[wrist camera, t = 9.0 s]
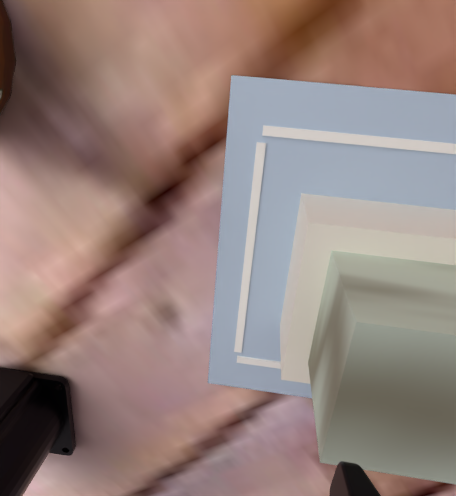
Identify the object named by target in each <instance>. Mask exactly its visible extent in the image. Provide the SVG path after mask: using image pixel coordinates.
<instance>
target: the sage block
mask: <svg viewBox="0 0 456 496" xmlns="http://www.w3.org/2000/svg"><path fill="white" fill-rule="evenodd" d="M308 367H309V375H310V384H311V392H312V400H313V409H314V417H315V425H316V434H317V442H318V450H319V459H320V463H326V464H332V465H338V463H339V462H340V461H345V462H350V463H356V464H358V465H359V466H360V467H361V468H362V469H363V470H369V471H376V472H382V473H388V474H394V475H400V476H407V477H413V478H419V479H425V480H432V481H438V482H444V483H450V484H456V265H449V264H441V263H432V262H424V261H416V260H407V259H399V258H391V257H382V256H374V255H366V254H358V253H349V252H341V251H333V250H331V255H330V260H329V265H328V269H327V274H326V279H325V284H324V288H323V293H322V298H321V303H320V308H319V312H318V317H317V322H316V327H315V331H314V336H313V341H312V346H311V351H310V355H309V360H308Z"/></svg>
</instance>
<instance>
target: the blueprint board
mask: <svg viewBox="0 0 456 496" xmlns="http://www.w3.org/2000/svg"><path fill="white" fill-rule="evenodd" d="M331 250H333V251H341V252H349V253H358V254H366V255H374V256H382V257H391V258H399V259H407V260H416V261H424V262H432V263H441V264H449V265H456V95H454V94H443V93H431V92H420V91H408V90H397V89H385V88H373V87H362V86H350V85H339V84H327V83H316V82H304V81H293V80H281V79H269V78H258V77H246V76H235V75H231V88H230V101H229V114H228V127H227V140H226V153H225V166H224V179H223V192H222V205H221V218H220V231H219V244H218V257H217V270H216V283H215V296H214V308H213V321H212V334H211V347H210V360H209V373H208V383H211V384H218V385H225V386H232V387H239V388H246V389H252V390H259V391H266V392H273V393H280V394H286V395H293V396H300V397H307V398H312V392H311V384H310V375H309V367H308V360H309V355H310V351H311V346H312V341H313V336H314V331H315V327H316V322H317V317H318V312H319V308H320V303H321V298H322V293H323V288H324V284H325V279H326V274H327V269H328V265H329V260H330V255H331Z"/></svg>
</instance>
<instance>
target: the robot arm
mask: <svg viewBox="0 0 456 496" xmlns="http://www.w3.org/2000/svg"><path fill="white" fill-rule="evenodd" d="M75 447H76V445H75V436H74V426H73V417H72V408H71V399H70V390H69V383H68V381H67V380H66V379H65V378H64V377H61V376H55V375H48V374H41V373H35V372H28V371H21V370H15V369H8V368H1V367H0V496H22V495H23V494H24V492H25V491H26V489H27V487H28V486H29V484H30V483H31V481H32V479H33V478H34V476H35V474H36V473H37V471H38V470H39V468H40V466H41V465H42V463H43V462H44V460H45V458H46V457H47V455H48V454H49V453H55V454H61V455H71V454H72V453H73V451H74V450H75ZM330 496H381V495H380V494H379V493H378V491H377V490H376V488H375V487H374V485H373V484H372V482H371V481H370V479H369V478H368V476H367V475H366V473H365V472H364V471H363V469H362V468H361V467H360V466H359V465H358V464H356V463H350V462H345V461H340V462H339V463H338V465H337V468H336V471H335V474H334V477H333V480H332V483H331V486H330Z"/></svg>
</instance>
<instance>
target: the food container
mask: <svg viewBox="0 0 456 496" xmlns="http://www.w3.org/2000/svg"><path fill="white" fill-rule="evenodd" d="M15 65H16V57H15V49H14V42H13V34H12V26H11V21H10V19H9V16H8V13H7V11H6V8H5V6H4V3H3V0H0V115H1V113H2V111H3V109H4V107H5V105H6V104H7V102H8V100H9V98H10V96H11V91H12V85H13V78H14V72H15Z"/></svg>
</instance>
